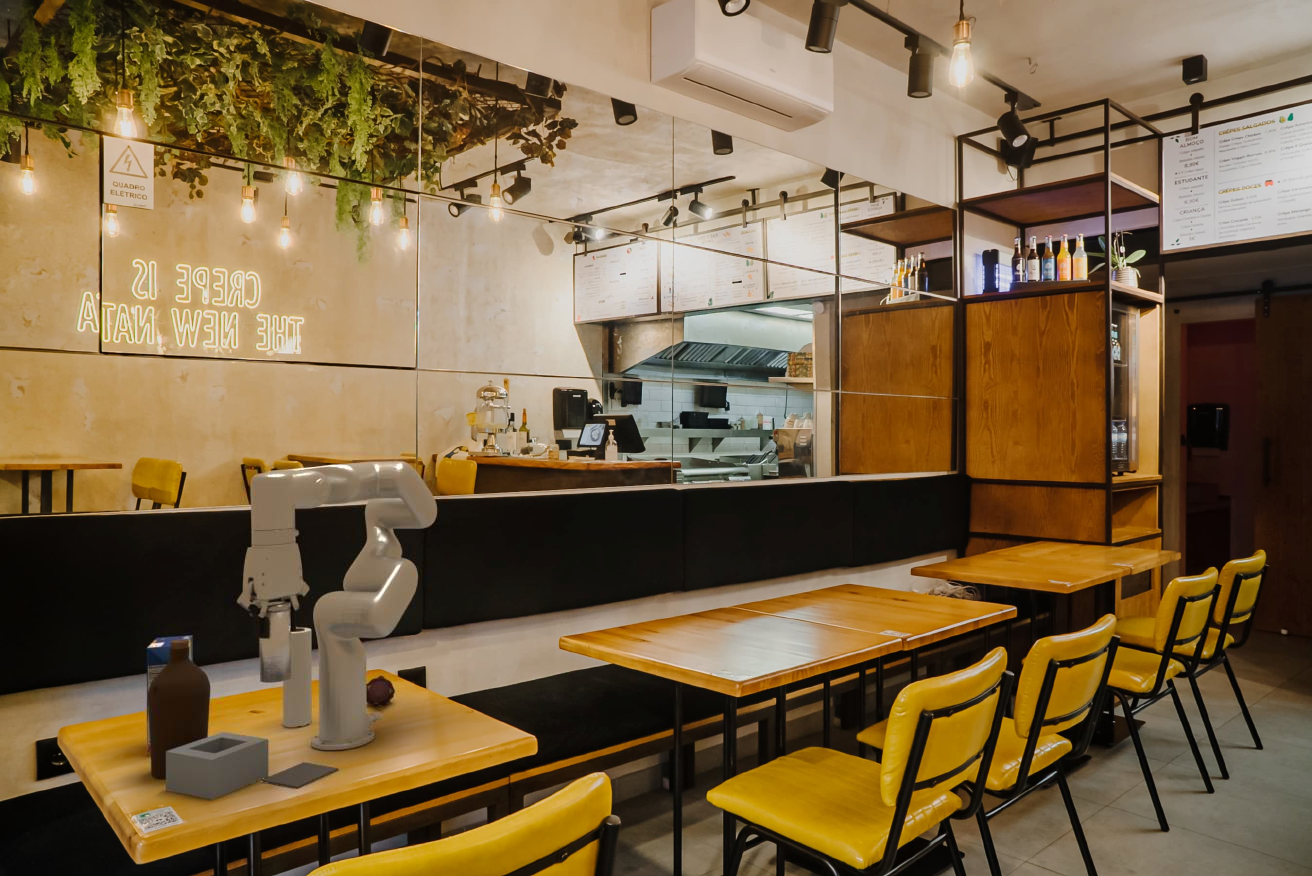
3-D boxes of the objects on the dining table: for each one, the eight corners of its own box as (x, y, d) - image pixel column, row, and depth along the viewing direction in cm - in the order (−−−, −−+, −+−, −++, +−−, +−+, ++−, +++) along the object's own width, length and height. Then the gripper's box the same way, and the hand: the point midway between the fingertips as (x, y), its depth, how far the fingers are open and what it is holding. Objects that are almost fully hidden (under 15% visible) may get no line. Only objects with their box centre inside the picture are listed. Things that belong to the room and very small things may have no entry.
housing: (223, 768, 165) (223, 731, 165) (268, 776, 160) (268, 739, 160) (165, 790, 154) (165, 751, 154) (212, 799, 149) (212, 759, 149)
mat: (303, 764, 166) (303, 762, 166) (338, 770, 163) (338, 768, 163) (261, 781, 157) (261, 779, 157) (297, 788, 154) (297, 786, 154)
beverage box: (146, 757, 172) (146, 647, 173) (156, 740, 182) (156, 637, 183) (184, 752, 174) (184, 644, 175) (192, 736, 185) (192, 635, 185)
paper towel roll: (301, 728, 189) (301, 632, 190) (277, 727, 190) (277, 631, 191) (320, 719, 196) (319, 626, 197) (296, 718, 197) (295, 625, 198)
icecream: (398, 684, 202) (397, 675, 216) (366, 678, 200) (367, 670, 214) (390, 714, 201) (390, 703, 215) (358, 709, 199) (360, 698, 213)
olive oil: (196, 779, 159) (196, 645, 160) (136, 782, 158) (136, 647, 159) (219, 759, 170) (219, 634, 170) (163, 762, 169) (164, 636, 169)
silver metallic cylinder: (278, 673, 163) (277, 600, 164) (298, 676, 161) (297, 602, 161) (253, 680, 159) (252, 605, 159) (273, 684, 156) (272, 607, 156)
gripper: (297, 532, 169) (299, 623, 169) (219, 542, 154) (220, 642, 154) (324, 534, 166) (326, 626, 166) (246, 544, 151) (248, 646, 151)
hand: (275, 633), depth 160 cm, fingers closed on silver metallic cylinder, 5 cm apart
